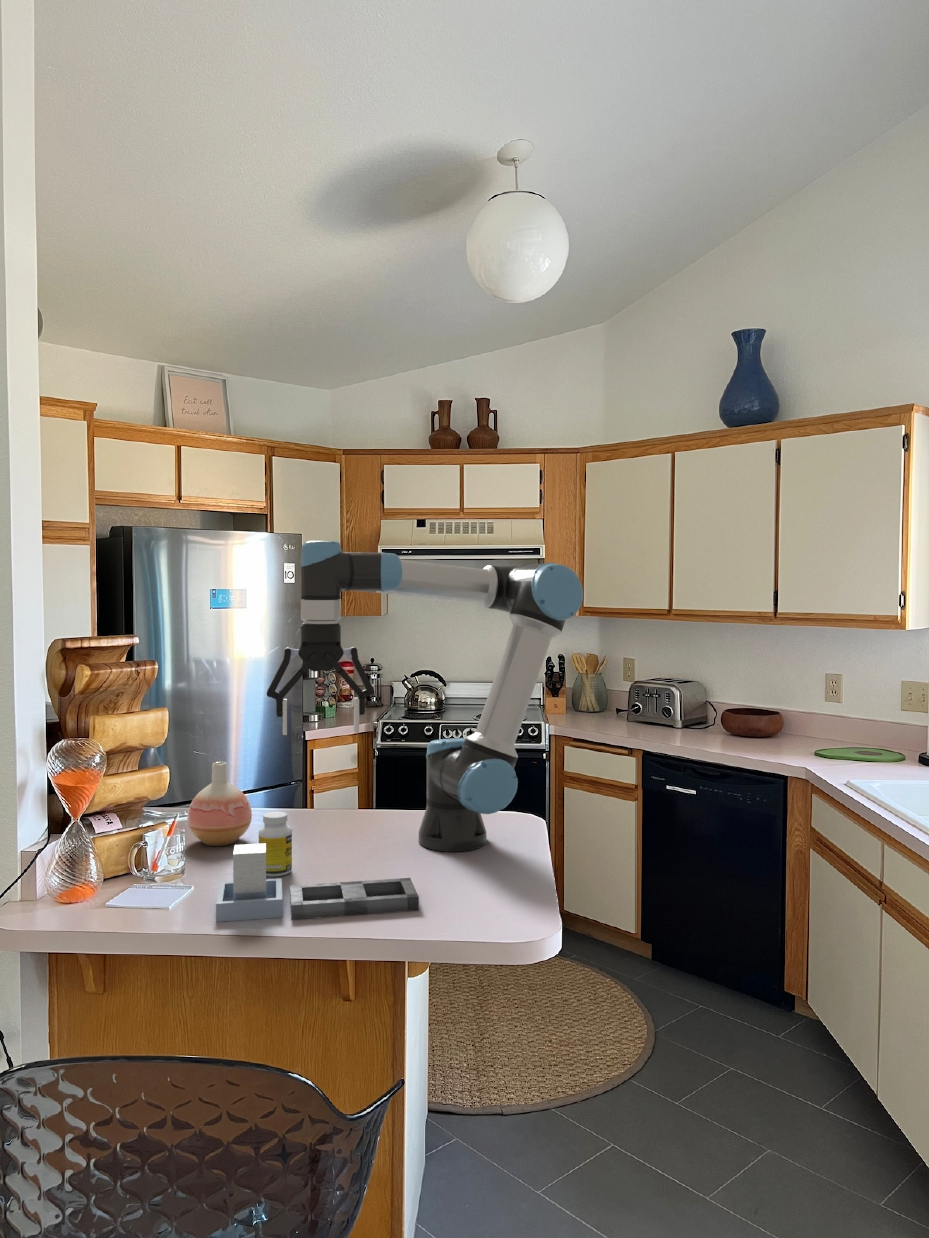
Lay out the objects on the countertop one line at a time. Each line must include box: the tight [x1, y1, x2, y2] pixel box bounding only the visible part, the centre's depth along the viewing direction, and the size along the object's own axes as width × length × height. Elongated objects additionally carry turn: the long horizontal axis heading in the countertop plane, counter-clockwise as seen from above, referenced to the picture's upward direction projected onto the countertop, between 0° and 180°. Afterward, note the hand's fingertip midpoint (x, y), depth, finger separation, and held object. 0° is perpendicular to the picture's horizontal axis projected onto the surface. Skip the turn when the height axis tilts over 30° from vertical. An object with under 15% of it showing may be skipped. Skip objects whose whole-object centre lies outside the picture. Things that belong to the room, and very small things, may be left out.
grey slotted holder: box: [289, 877, 420, 921], centre depth 159 cm, size 22×10×2 cm, turn 102°
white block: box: [232, 843, 267, 901], centre depth 156 cm, size 6×6×10 cm
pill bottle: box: [258, 811, 293, 878], centre depth 175 cm, size 6×6×12 cm
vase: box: [187, 761, 253, 847], centre depth 195 cm, size 14×14×18 cm
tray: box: [215, 878, 283, 923], centre depth 157 cm, size 11×11×3 cm
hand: (320, 733), depth 170 cm, fingers open, 13 cm apart
